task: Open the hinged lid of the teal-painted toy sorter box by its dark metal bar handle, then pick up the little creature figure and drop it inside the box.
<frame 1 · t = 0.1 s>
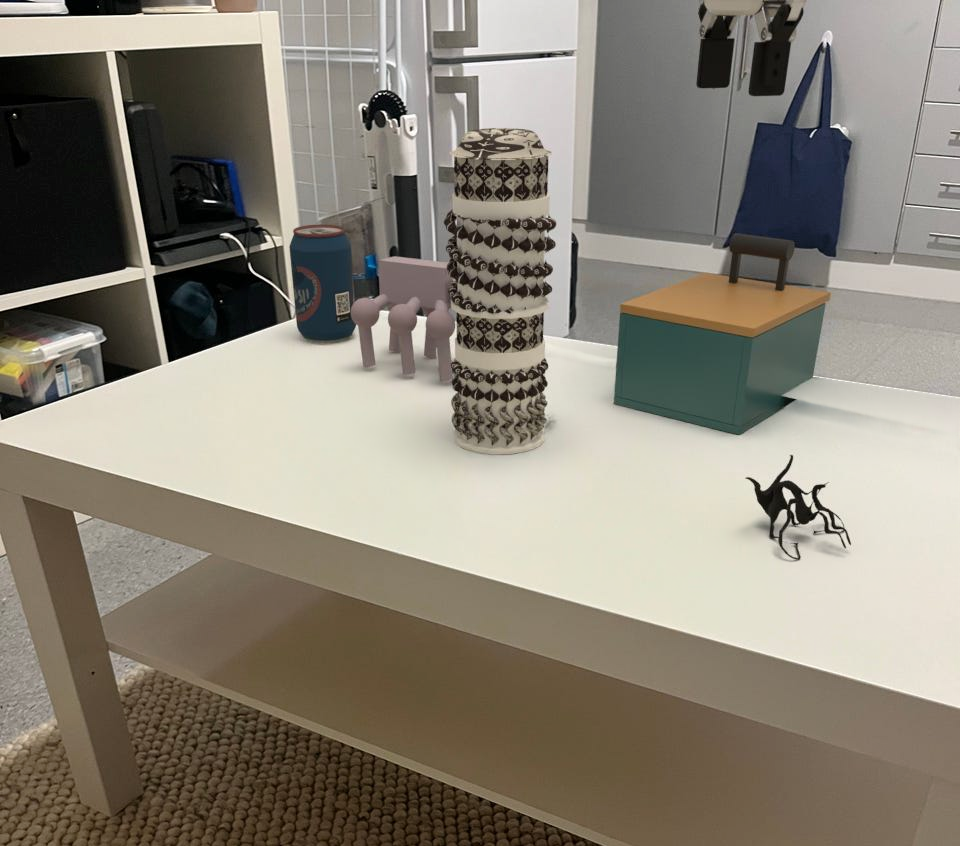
hand: (738, 91, 91), 27 cm above the table, tool pointing down, fingers open, 9 cm apart
decorative candle: (498, 439, 92), on the table
sorter: (713, 397, 101), on the table
soda can: (327, 338, 120), on the table
creature: (800, 540, 75), on the table
pink pegged block: (450, 373, 109), on the table
sorter lid: (730, 277, 95), point 12 cm above the table, hinge at 0.0°
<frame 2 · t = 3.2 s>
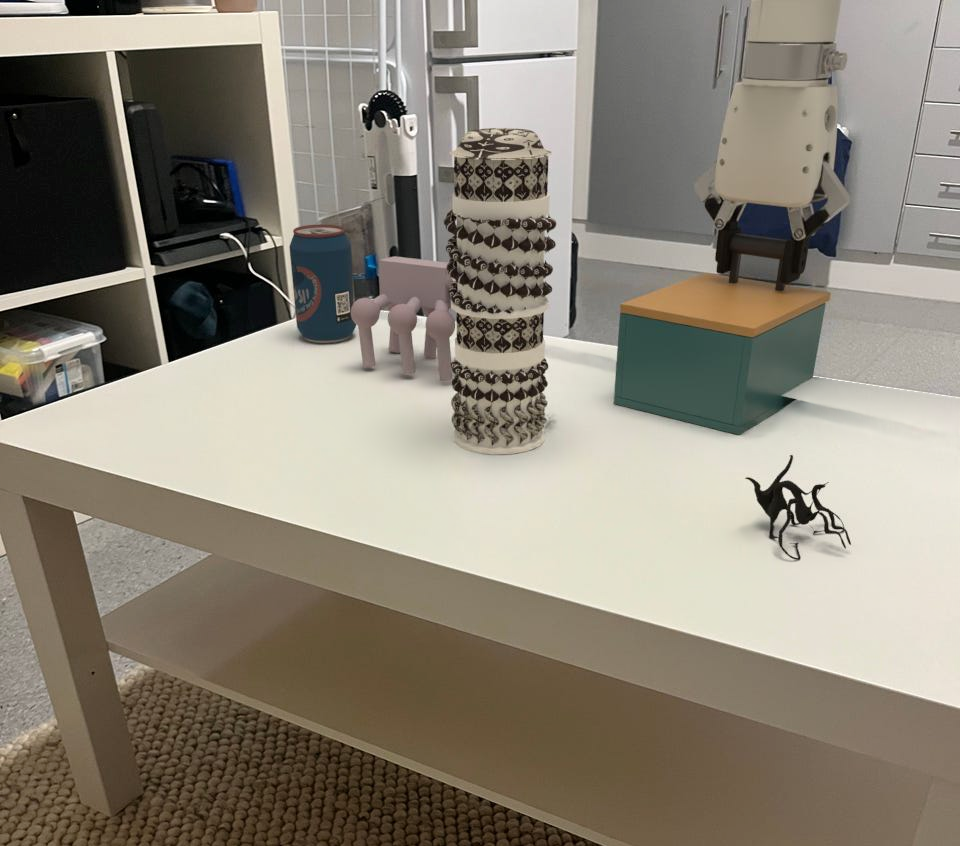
hand: (757, 274, 100), 11 cm above the table, tool pointing down, fingers closed on sorter lid, 6 cm apart
sorter lid: (730, 277, 95), point 12 cm above the table, hinge at 0.0°, touching gripper
everything else where it was.
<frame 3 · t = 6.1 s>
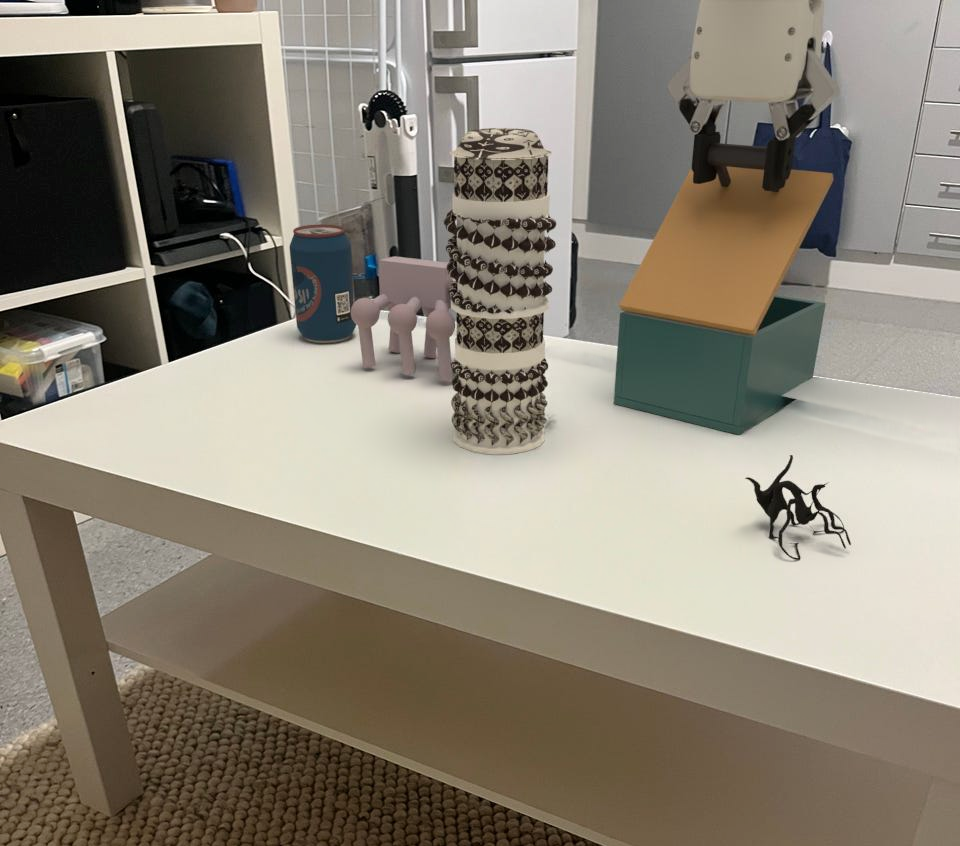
hand: (738, 183, 90), 20 cm above the table, tool pointing down, fingers closed on sorter lid, 6 cm apart
sorter lid: (717, 226, 90), point 17 cm above the table, hinge at 43.0°, touching gripper
everything else where it was.
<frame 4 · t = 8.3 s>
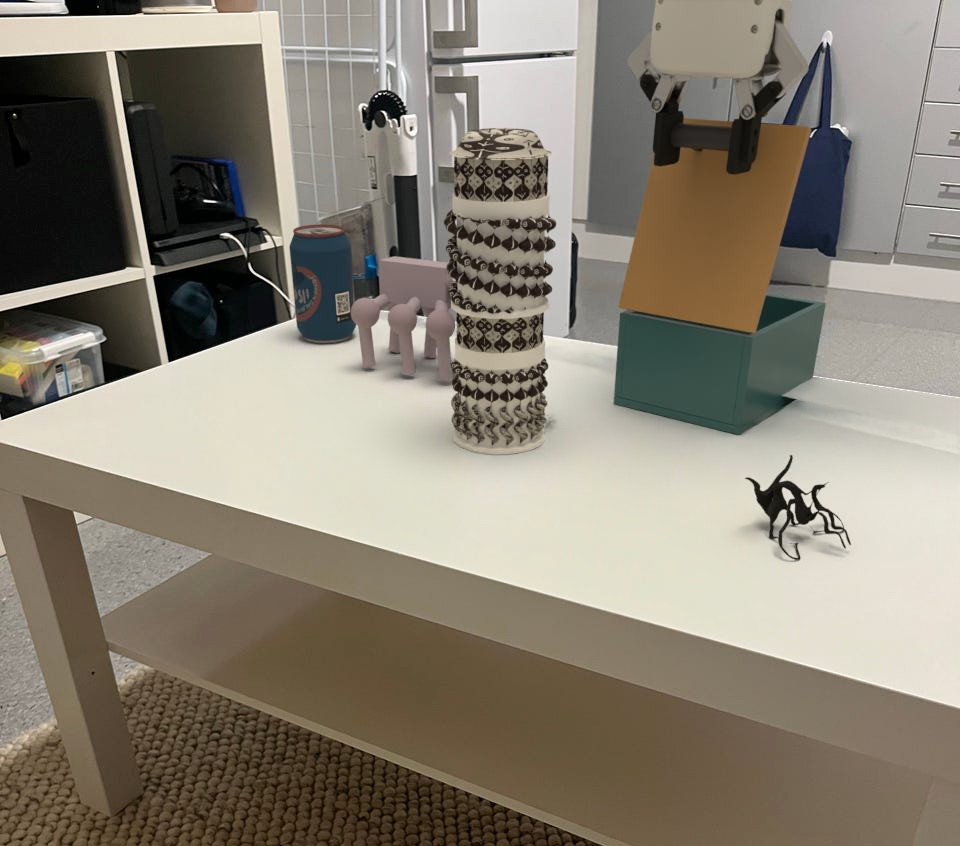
hand: (701, 166, 85), 22 cm above the table, tool pointing down, fingers closed on sorter lid, 6 cm apart
sorter lid: (697, 218, 87), point 18 cm above the table, hinge at 71.1°, touching gripper
everything else where it was.
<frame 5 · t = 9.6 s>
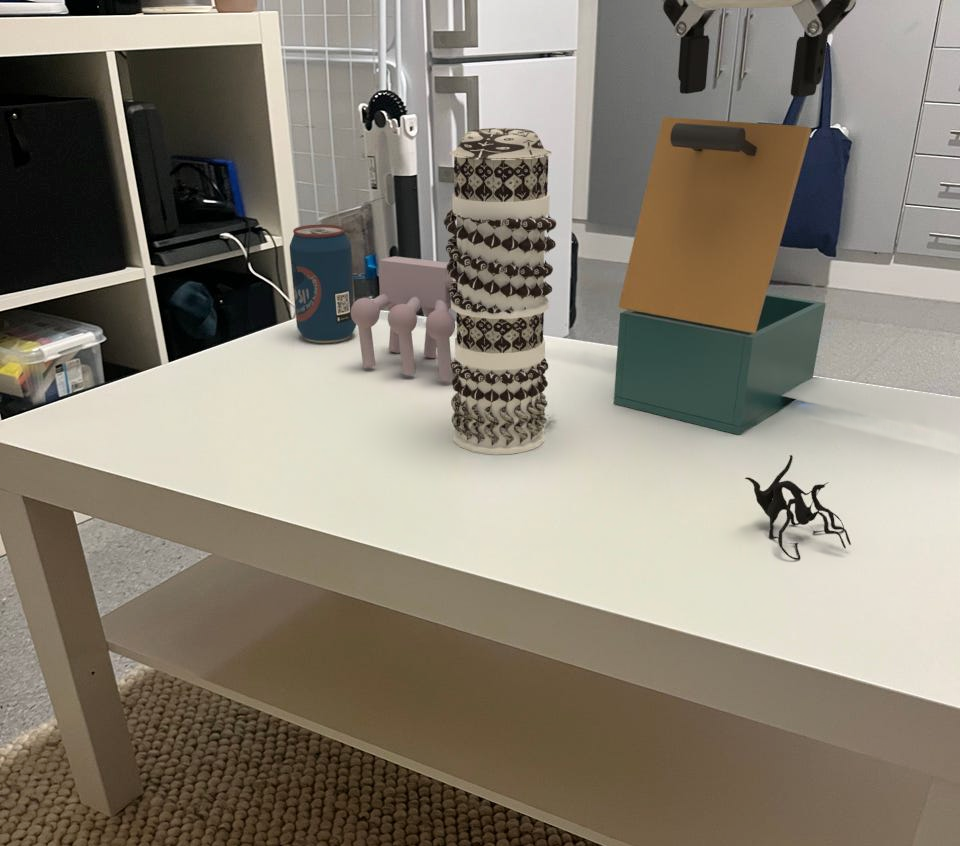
hand: (745, 94, 81), 27 cm above the table, tool pointing down, fingers open, 9 cm apart
sorter lid: (697, 218, 87), point 18 cm above the table, hinge at 71.1°
everything else where it was.
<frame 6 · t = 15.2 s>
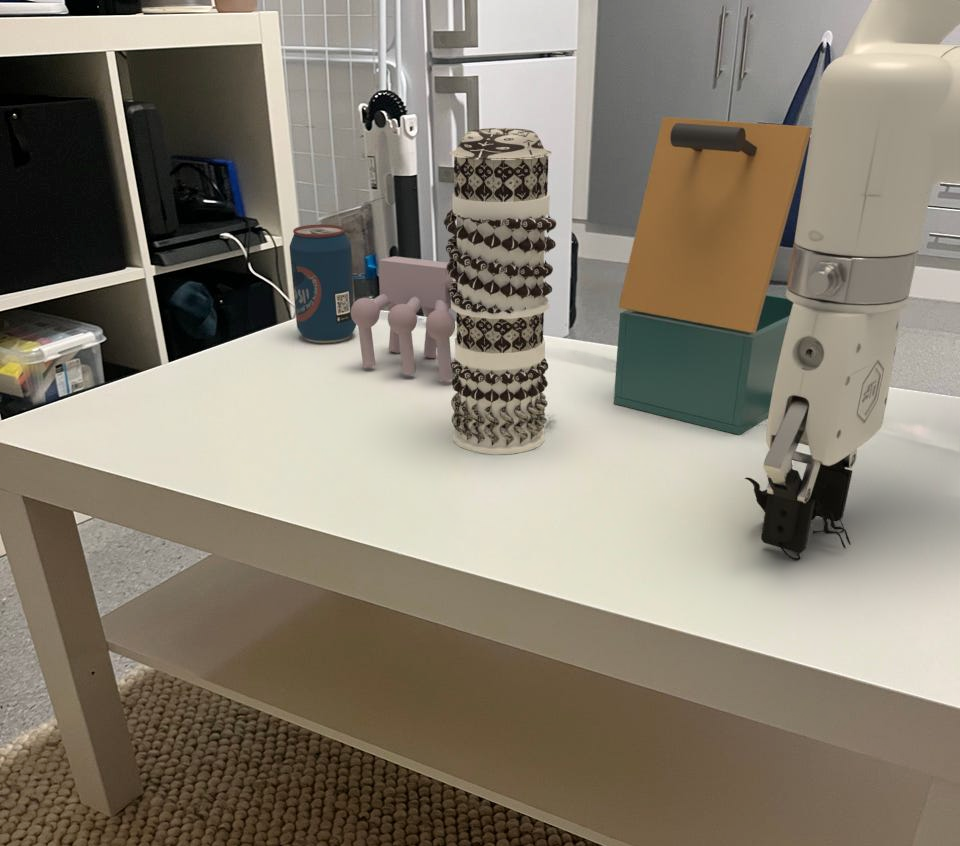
hand: (802, 528, 74), 1 cm above the table, tool pointing down, fingers closed on creature, 5 cm apart
creature: (800, 540, 75), on the table, touching gripper
everything else where it was.
when the fingers open (8 cm above the table, at t = 27.2 s): creature drops 6 cm, resting on sorter.
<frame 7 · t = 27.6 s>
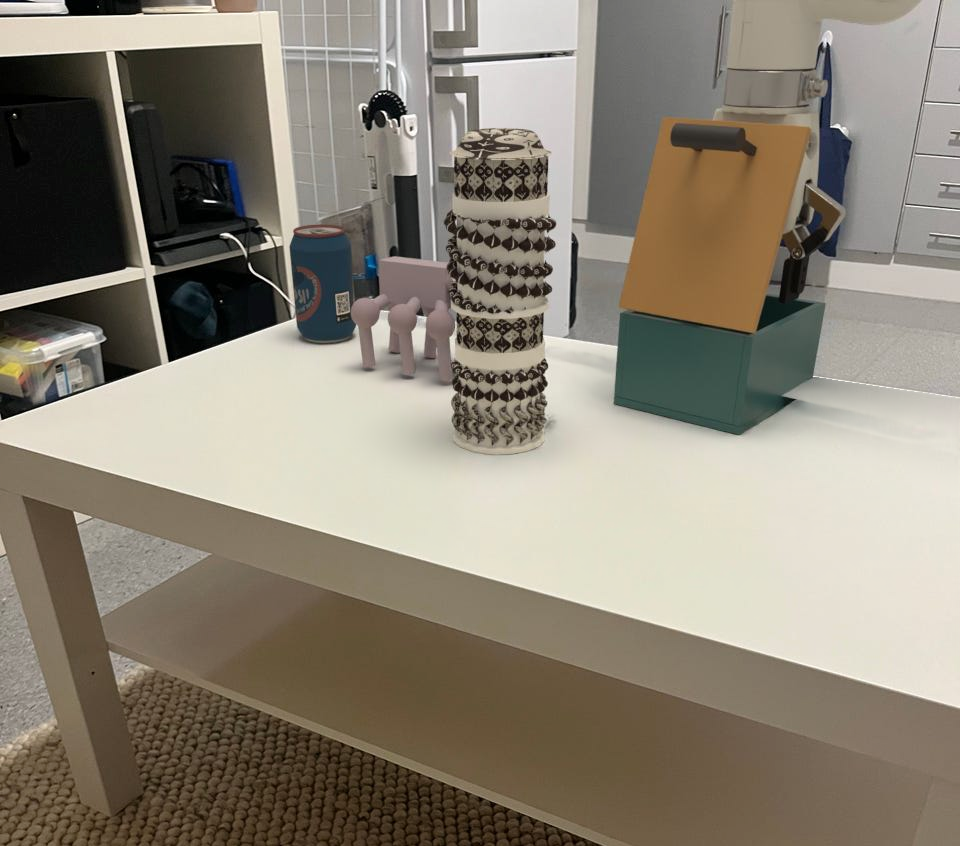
hand: (742, 293, 98), 10 cm above the table, tool pointing down, fingers open, 9 cm apart
creature: (726, 383, 103), point 1 cm above the table, touching sorter
everything else where it was.
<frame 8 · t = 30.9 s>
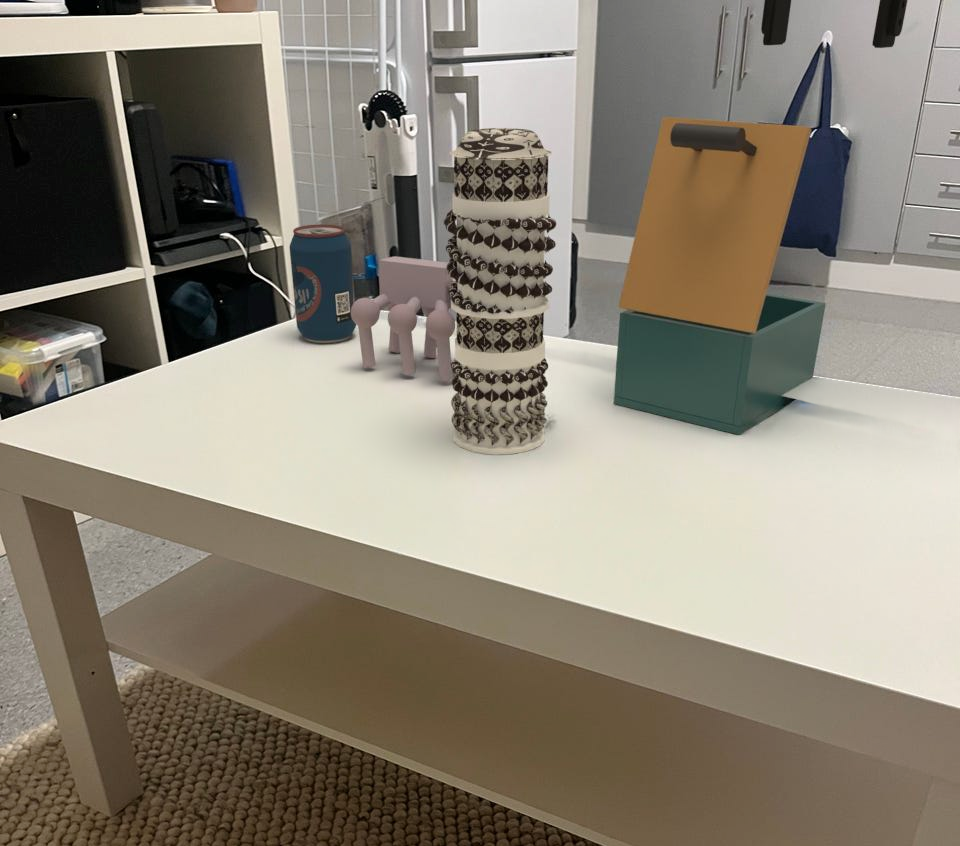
hand: (826, 45, 86), 30 cm above the table, tool pointing down, fingers open, 9 cm apart
nothing on the table moved.
at the end: sorter lid at +71° (first picture: +0°); creature inside the target area in the sorter (3.2 cm from its centre), point 0.6 cm above the sorter's base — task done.
